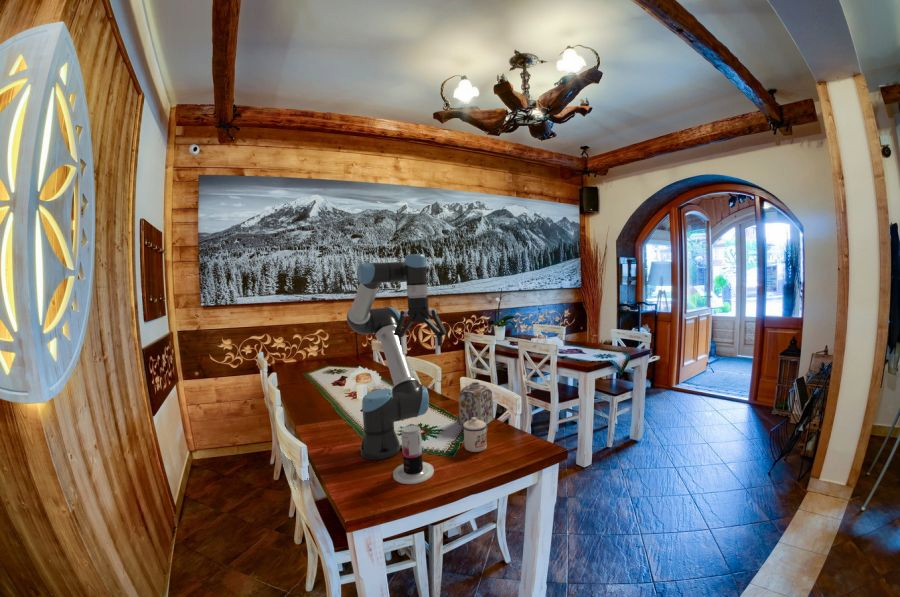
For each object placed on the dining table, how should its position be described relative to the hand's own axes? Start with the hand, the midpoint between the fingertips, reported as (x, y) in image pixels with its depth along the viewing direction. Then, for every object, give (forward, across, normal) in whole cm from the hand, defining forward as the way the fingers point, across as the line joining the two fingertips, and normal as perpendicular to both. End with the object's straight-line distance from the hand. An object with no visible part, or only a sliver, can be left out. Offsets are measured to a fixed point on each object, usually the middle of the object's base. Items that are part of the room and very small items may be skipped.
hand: (421, 354), depth 138 cm
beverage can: (+38, 0, -12) cm, 40 cm away
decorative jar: (+39, +9, +36) cm, 54 cm away
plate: (+39, 0, -12) cm, 41 cm away
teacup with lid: (+39, +16, +13) cm, 44 cm away
